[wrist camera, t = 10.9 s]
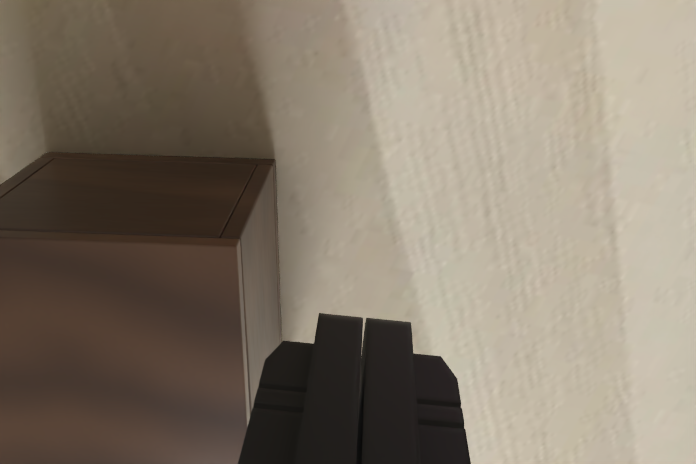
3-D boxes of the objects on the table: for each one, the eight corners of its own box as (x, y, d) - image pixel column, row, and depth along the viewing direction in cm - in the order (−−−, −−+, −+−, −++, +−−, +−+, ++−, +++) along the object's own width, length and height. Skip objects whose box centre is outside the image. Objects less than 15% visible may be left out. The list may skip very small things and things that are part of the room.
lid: (256, 519, 30) (253, 531, 30) (11, 506, 31) (4, 518, 30) (240, 238, 24) (236, 246, 24) (-62, 227, 25) (-73, 234, 24)
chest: (283, 378, 38) (256, 498, 30) (89, 369, 39) (13, 486, 31) (275, 158, 32) (240, 237, 24) (46, 151, 33) (-61, 226, 25)
